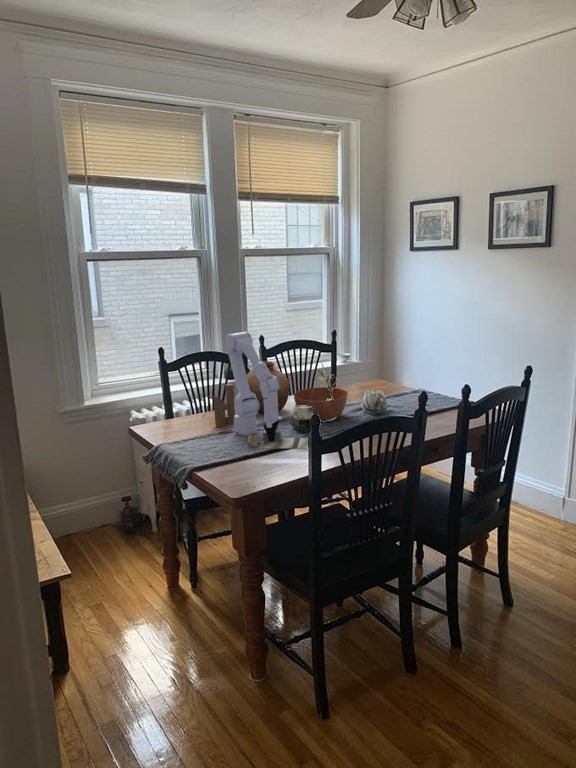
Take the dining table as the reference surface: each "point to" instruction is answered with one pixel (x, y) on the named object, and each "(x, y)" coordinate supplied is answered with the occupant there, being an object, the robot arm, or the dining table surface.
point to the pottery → (281, 393)
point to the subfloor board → (287, 443)
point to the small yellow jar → (252, 440)
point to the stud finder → (277, 436)
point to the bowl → (322, 401)
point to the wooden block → (224, 408)
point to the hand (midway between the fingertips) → (272, 438)
